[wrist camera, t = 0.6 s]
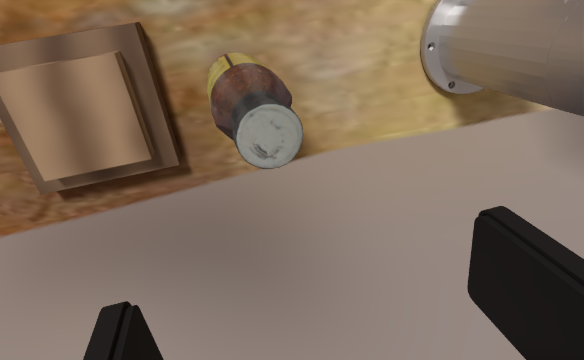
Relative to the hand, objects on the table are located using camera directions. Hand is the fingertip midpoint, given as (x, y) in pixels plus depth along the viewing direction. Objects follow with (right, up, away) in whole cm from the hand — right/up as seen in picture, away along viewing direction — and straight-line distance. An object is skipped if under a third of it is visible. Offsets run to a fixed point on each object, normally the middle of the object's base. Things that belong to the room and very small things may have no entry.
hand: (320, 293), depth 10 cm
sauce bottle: (-7, +14, +29) cm, 32 cm away
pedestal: (-21, +10, +27) cm, 35 cm away
